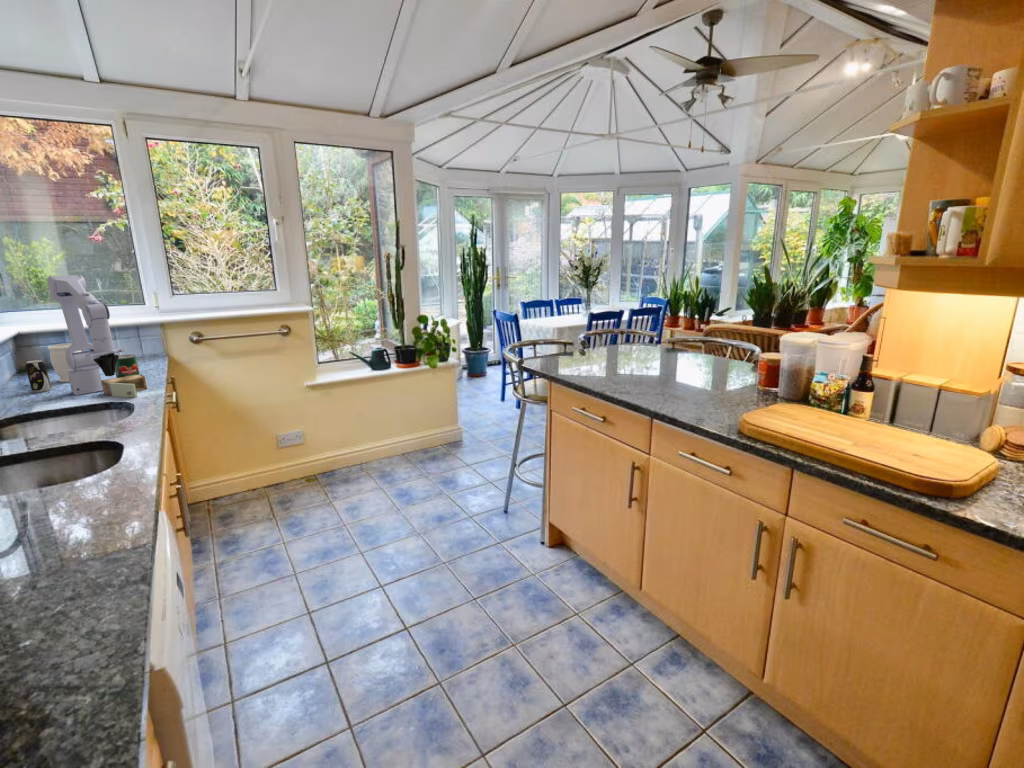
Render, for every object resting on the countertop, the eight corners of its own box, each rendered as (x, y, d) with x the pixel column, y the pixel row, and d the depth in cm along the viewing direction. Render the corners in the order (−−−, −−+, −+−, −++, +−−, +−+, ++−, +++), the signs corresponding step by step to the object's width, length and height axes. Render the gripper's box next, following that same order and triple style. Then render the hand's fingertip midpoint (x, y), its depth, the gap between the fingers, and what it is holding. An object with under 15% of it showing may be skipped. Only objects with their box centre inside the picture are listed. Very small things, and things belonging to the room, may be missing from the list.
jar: (94, 377, 220) (86, 342, 216) (72, 383, 210) (63, 347, 206) (72, 376, 221) (63, 342, 217) (49, 382, 211) (39, 347, 207)
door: (107, 396, 190) (104, 383, 189) (111, 395, 192) (108, 382, 191) (133, 398, 188) (130, 385, 186) (137, 396, 190) (134, 384, 188)
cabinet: (107, 396, 191) (104, 383, 190) (104, 393, 195) (101, 380, 194) (147, 388, 200) (144, 376, 199) (143, 386, 204) (140, 374, 203)
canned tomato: (128, 385, 206) (123, 358, 203) (112, 384, 207) (106, 358, 205) (145, 380, 213) (140, 354, 210) (130, 379, 215) (124, 354, 212)
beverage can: (54, 390, 200) (46, 360, 197) (34, 393, 195) (26, 363, 192) (49, 388, 203) (41, 358, 200) (30, 391, 198) (22, 361, 195)
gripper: (95, 342, 172) (104, 380, 175) (128, 334, 186) (136, 370, 189) (75, 342, 172) (84, 380, 176) (109, 334, 186) (117, 370, 190)
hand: (110, 375), depth 183 cm, fingers closed
